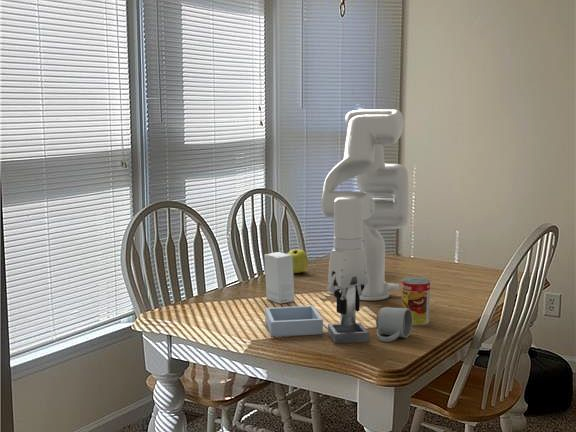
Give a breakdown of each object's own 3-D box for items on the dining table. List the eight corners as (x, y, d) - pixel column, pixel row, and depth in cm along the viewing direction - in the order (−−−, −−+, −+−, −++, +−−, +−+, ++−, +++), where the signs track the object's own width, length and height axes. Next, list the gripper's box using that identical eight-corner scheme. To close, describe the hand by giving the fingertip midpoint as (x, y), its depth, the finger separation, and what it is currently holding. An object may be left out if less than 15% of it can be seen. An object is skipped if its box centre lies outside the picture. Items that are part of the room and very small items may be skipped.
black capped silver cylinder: (348, 319, 203) (348, 272, 201) (361, 323, 199) (361, 275, 197) (334, 322, 200) (334, 275, 198) (347, 327, 196) (347, 278, 194)
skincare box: (295, 301, 235) (294, 255, 233) (278, 304, 232) (278, 257, 229) (280, 296, 242) (279, 250, 240) (264, 298, 239) (263, 252, 236)
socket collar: (360, 331, 205) (360, 322, 204) (368, 341, 196) (368, 332, 195) (327, 333, 203) (327, 324, 203) (334, 343, 195) (334, 334, 194)
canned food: (399, 317, 217) (400, 276, 215) (427, 317, 217) (428, 276, 215) (403, 325, 210) (403, 283, 208) (431, 325, 209) (432, 283, 207)
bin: (313, 319, 216) (313, 305, 216) (322, 333, 203) (322, 319, 202) (265, 321, 214) (265, 307, 214) (271, 336, 201) (271, 322, 200)
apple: (287, 270, 278) (287, 243, 277) (308, 270, 277) (308, 244, 275) (284, 275, 270) (284, 248, 269) (306, 275, 269) (306, 248, 268)
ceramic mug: (384, 329, 207) (384, 302, 205) (413, 333, 203) (413, 305, 201) (369, 340, 197) (369, 312, 196) (398, 345, 193) (399, 316, 192)
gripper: (361, 237, 204) (361, 303, 207) (314, 245, 194) (314, 314, 196) (381, 241, 198) (380, 309, 201) (333, 250, 188) (333, 321, 191)
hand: (348, 311), depth 199 cm, fingers closed on black capped silver cylinder, 4 cm apart
